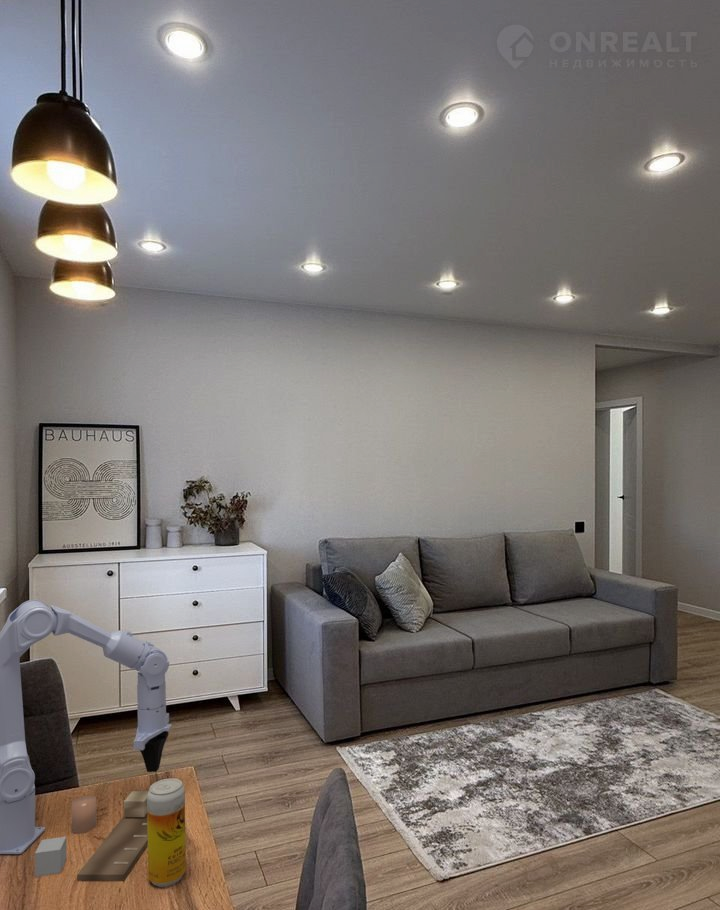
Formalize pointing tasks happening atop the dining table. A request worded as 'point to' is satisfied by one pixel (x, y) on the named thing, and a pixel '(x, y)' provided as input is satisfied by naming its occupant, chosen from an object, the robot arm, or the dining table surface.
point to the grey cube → (50, 856)
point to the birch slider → (136, 804)
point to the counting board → (117, 851)
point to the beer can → (166, 832)
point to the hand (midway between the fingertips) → (152, 770)
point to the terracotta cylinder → (83, 814)
